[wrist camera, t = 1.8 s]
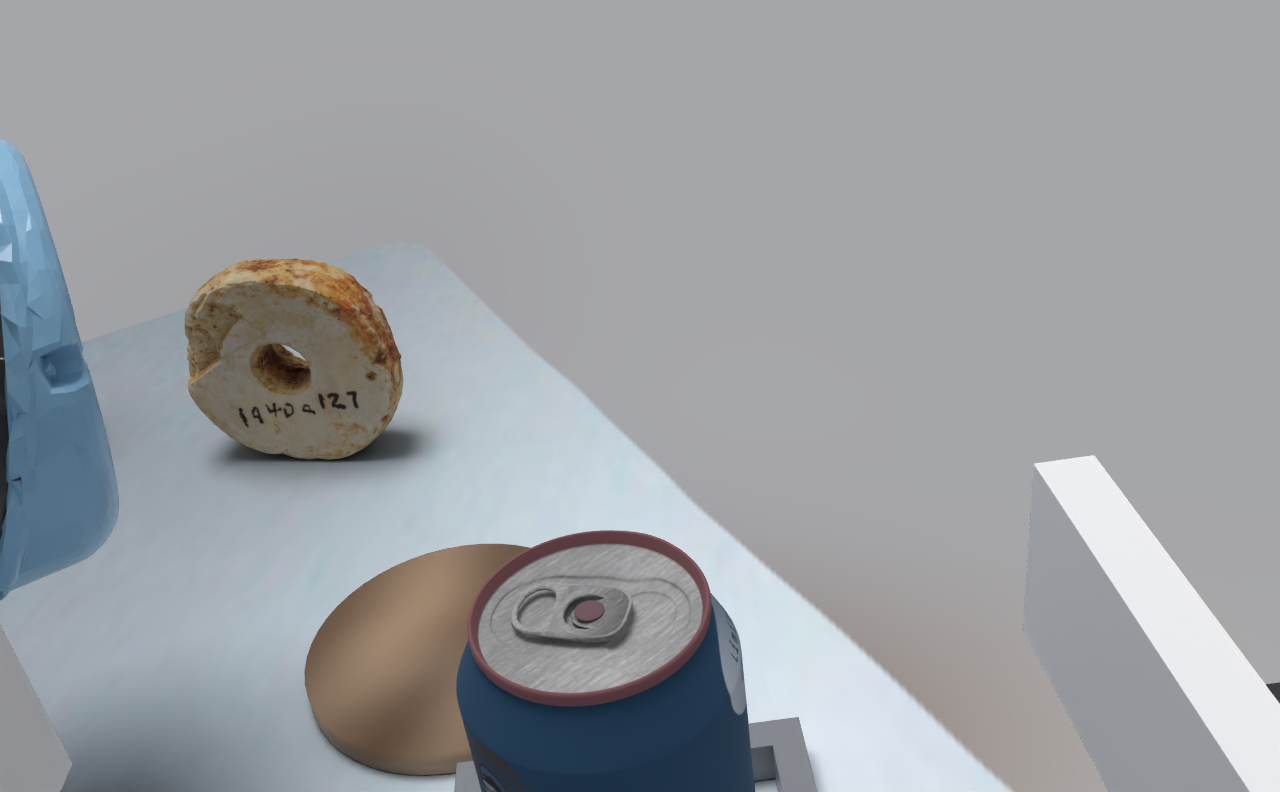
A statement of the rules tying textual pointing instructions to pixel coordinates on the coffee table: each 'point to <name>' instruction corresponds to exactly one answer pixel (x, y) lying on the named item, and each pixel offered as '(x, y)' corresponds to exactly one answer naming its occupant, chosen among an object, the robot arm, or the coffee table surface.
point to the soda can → (604, 673)
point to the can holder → (771, 750)
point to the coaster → (401, 662)
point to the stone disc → (292, 358)
